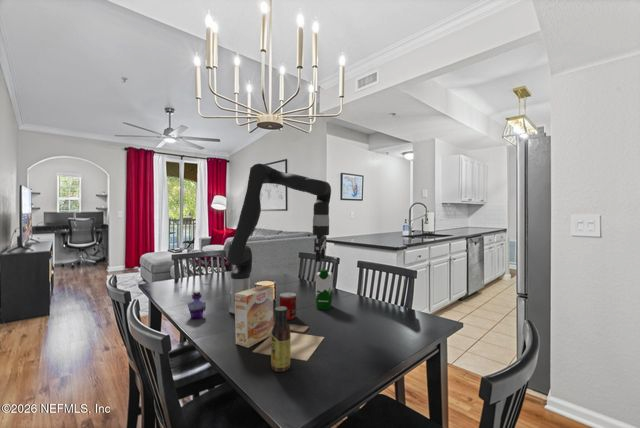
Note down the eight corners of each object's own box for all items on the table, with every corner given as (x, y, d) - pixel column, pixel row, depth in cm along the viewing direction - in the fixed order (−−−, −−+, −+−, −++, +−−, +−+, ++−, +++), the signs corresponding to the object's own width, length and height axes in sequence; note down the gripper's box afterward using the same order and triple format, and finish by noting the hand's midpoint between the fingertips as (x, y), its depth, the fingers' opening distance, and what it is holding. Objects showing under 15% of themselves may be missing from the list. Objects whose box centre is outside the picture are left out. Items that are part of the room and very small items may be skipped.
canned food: (293, 320, 142) (293, 297, 142) (277, 319, 144) (277, 296, 144) (298, 315, 150) (298, 292, 150) (282, 314, 152) (282, 291, 151)
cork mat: (252, 352, 111) (252, 351, 111) (276, 331, 130) (276, 330, 130) (307, 361, 105) (307, 360, 105) (324, 337, 124) (324, 337, 124)
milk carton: (314, 309, 158) (315, 271, 158) (316, 304, 167) (316, 267, 167) (331, 310, 157) (332, 271, 157) (332, 304, 166) (333, 268, 166)
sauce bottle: (271, 363, 103) (271, 304, 103) (290, 362, 103) (290, 304, 103) (270, 374, 96) (270, 311, 96) (290, 373, 97) (290, 310, 97)
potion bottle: (209, 317, 146) (209, 292, 146) (191, 322, 140) (191, 295, 140) (201, 313, 152) (201, 288, 152) (183, 317, 146) (183, 292, 146)
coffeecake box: (248, 348, 114) (246, 295, 113) (234, 344, 117) (233, 293, 117) (274, 334, 126) (273, 286, 126) (261, 330, 130) (260, 284, 130)
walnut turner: (259, 326, 135) (259, 324, 135) (265, 322, 141) (265, 319, 141) (304, 333, 128) (304, 330, 128) (308, 327, 134) (308, 325, 134)
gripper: (316, 223, 148) (316, 257, 148) (308, 225, 134) (308, 262, 134) (331, 224, 146) (331, 258, 146) (325, 225, 132) (325, 263, 132)
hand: (320, 260), depth 140 cm, fingers open, 8 cm apart
